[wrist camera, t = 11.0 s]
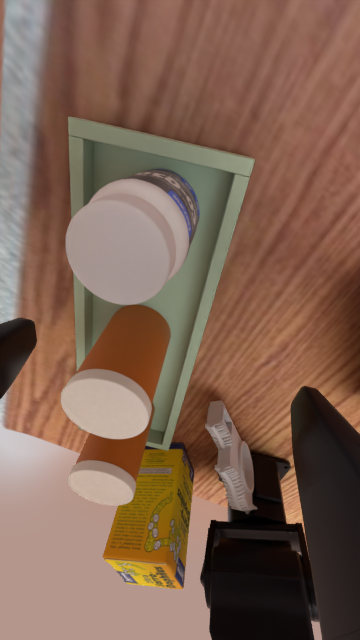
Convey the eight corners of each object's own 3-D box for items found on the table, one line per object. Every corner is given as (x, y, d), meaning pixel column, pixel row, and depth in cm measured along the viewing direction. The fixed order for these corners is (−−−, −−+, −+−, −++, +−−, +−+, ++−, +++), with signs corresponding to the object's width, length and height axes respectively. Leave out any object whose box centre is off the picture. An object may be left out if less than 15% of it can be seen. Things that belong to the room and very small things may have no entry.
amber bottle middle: (166, 361, 24) (143, 447, 17) (108, 347, 24) (62, 428, 17) (177, 312, 21) (154, 392, 14) (110, 296, 21) (57, 368, 14)
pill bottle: (216, 201, 16) (208, 246, 9) (172, 262, 19) (141, 334, 12) (148, 148, 15) (82, 153, 8) (112, 219, 18) (37, 270, 11)
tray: (171, 431, 30) (168, 451, 28) (87, 411, 30) (78, 429, 28) (251, 157, 15) (255, 159, 14) (86, 119, 16) (67, 116, 14)
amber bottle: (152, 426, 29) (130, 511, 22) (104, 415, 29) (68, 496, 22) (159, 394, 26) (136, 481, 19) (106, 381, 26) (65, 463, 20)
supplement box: (195, 470, 34) (184, 591, 25) (150, 470, 35) (124, 584, 26) (184, 441, 31) (166, 566, 22) (135, 442, 32) (100, 560, 23)
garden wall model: (206, 399, 25) (198, 461, 21) (225, 396, 25) (221, 460, 20) (244, 469, 31) (244, 531, 26) (260, 468, 30) (263, 532, 25)
